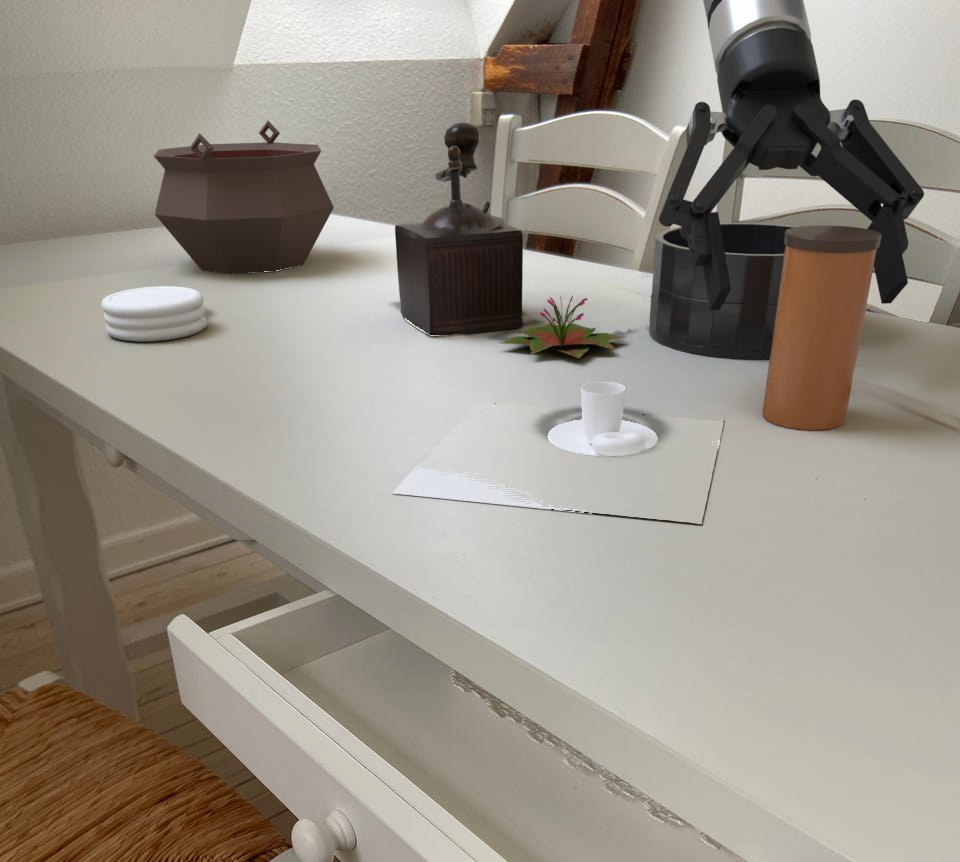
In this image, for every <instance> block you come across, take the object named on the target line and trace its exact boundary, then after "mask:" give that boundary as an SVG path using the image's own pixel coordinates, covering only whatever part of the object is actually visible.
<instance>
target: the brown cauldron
mask: <svg viewBox="0 0 960 862" xmlns="http://www.w3.org/2000/svg"><path fill="white" fill-rule="evenodd" d="M268 130H270V131H271V132H272V134H271V135H270V136H269V135H268V134H267V131H268ZM280 134H281V132H280V131H279V130H278V129H277V128H276V127H275V126H274V125H273V124H272V123H271V122H270V121H269V120H266V122H265V123H264V125H263V126H262V128H261V129H260V130H259V131H258V135H260V136H261V137H262V139H264V141H265V142H237V143H235V142H233V143H231V142H230V143H210V142H209V141H208V140H207V139H206V138H205V137H204V136H203V135H202V134H201V133H198V135H197V136H196V137H195V139H194V141H192V143H191V144H190V146H189V145H188V146H179V147H178V146H177V147H170V148H160V149H157V151H156V152H155V153H154V155H153V157H154V159H155V160H156V161H157V162H158V163H159V164H160V166H161V167H162V168H163V169H164V172H163V176H162V180H161V184H160V189H159V194H158V198H157V203H156V207H155V211H154V216H155V217H156V218H157V220H158V221H159V222H160V223H161V224H162V225H163V226H164V227H165V229H166V230H167V231H168V232H169V234H170V235H171V236H172V238H174V239H175V241H176V242H177V243H178V244H179V245H180V247H181V248H182V249H183V250H184V251H185V253H186V254H187V255H188V256H189V257H190V258H191V259H192V261H193V262H194V263H195V264H196V266H197V267H198V268H199V269H200V270H201V271H205V272H206V271H207V272H214V273H220V272H222V273H221V274H227V273H230V274H229V275H233V274H232V273H244V274H249V273H248V272H264V271H276V270H280V269H285V268H289V267H293V268H295V267H294V266H297V267H299V266H298V265H301V266H303V265H302V264H304V265H305V263H306V261H307V259H308V258H309V256H310V254H311V252H312V250H313V248H314V246H315V244H316V242H317V240H318V239H319V237H320V234H321V233H322V231H323V230H324V228H325V225H326V223H327V221H328V219H329V217H330V216H331V214H332V212H333V210H334V209H335V207H334V205H333V202H332V200H331V198H330V195H329V194H328V192H327V189H326V187H325V184H324V183H323V181H322V179H321V176H320V174H319V172H318V170H317V167H316V166H315V163H316V161H317V160H318V158H319V156H320V154H321V153H322V149H321V148H320V146H319V144H311V143H310V144H309V143H308V144H307V143H293V142H292V143H291V142H290V143H289V142H275V141H276V140H277V138H278V137H279V135H280ZM289 269H290V268H289ZM285 270H286V269H285ZM280 271H281V270H280ZM276 272H277V271H276ZM264 273H265V272H264Z"/></svg>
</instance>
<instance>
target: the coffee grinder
mask: <svg viewBox="0 0 960 862" xmlns="http://www.w3.org/2000/svg"><path fill="white" fill-rule="evenodd" d="M443 139H444V145H445V146H446V148H447V149H448V150H447V157H448V160H449V161H448V163H447V165H448V167H447V168H445V169H441V170H440V171H438V172H437V173H435V174H434V175H435V177H434V178H435V180H436V181H438V182H442V183H443V182H444V183H447V182H450V191H451V192H450V193H451V194H450V195H451V200H450V202H449V205H446V206H443V207H440V208H438V209H436V210H434V211H433V212H430V214H429V215H427V216H426V218H425V219H423V221H419V222H412V223H410V222H409V223H401V224H395V225H394V236H395V238H394V239H395V251H396V253H395V254H396V268H397V269H396V270H397V280H398V291H399V292H398V293H399V302H400V315H401V314H402V315H401V317H402V316H403V317H404V318H406V319H407V320H409V321H410V322H412V324H414V325H415V326H417V327H419V328H420V329H422V330H424V331H425V332H426V333H428V334H429V335H449V336H456V335H455V334H458V335H467V334H475V333H484V332H493V331H501V330H508V329H509V330H510V329H518V328H522V327H523V326H524V325H525V324H524V319H523V273H524V271H523V269H524V268H523V266H524V265H523V261H524V260H523V259H524V257H523V256H524V236H523V232H522V229H519V228H516V227H514V226H511V225H509V224H506V223H505V222H506V221H505V219H504V218H502V217H499V216H495V215H492V214H491V213H490V212H489V209H490V206H491V202H490V201H486V202H485V204H484V205H483V208H480V207H478V206H476V205H474V204H470V203H468V202H464V201H463V199H462V196H461V195H462V194H461V193H462V192H461V177H462V178H464V179H467V177H468V176H469V175H471V173H472V172H474V171H475V172H476V171H477V170H478V166H477V164H476V162H475V158H474V157H475V155H476V154H475V153H476V151H477V149H478V148H479V146H480V144H481V135H480V133H479V129H478V127H476V126H475V125H473V124H471V123H470V122H457V123H453V124H452V125H451V126H450V127H448V128H447V129H446V130H445V133H444V136H443ZM403 317H402V318H403ZM453 334H454V335H453Z"/></svg>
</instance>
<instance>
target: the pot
mask: <svg viewBox="0 0 960 862" xmlns="http://www.w3.org/2000/svg"><path fill="white" fill-rule="evenodd" d="M720 226H721V232H722V238H723V244H724V250H725V256H726V262H727V267H728V273H729V279H730V285H731V290H730V292H729V294H728V296H727V298H726V299H725V301H724V303H723V305H722V307H721V309H720V310H710V306H709V300H708V294H707V288H706V282H705V276H704V270H703V266H694V265H693V264H692V262H691V260H690V253H689V247H688V241H687V239H684V238H683V237H682V236H681V234H680V230H681V228H682V227H681V226H677V227H672V228H669V229H665V230H662V231H660V232H658V233H657V234H656V235H655V241H654V252H653V254H654V255H653V265H652V266H653V268H652V280H651V281H652V283H651V294H650V305H649V307H650V308H649V321H648V322H649V323H648V325H649V326H648V334H649V336H650V337H651V339H653V340H654V341H655V342H656V343H658V344H660V345H663V346H665V347H668V348H671V349H674V350H677V351H681V352H685V353H688V354H693V355H694V354H695V355H700V356H706V357H713V358H723V359H724V358H726V359H735V360H736V359H737V360H770V354H771V347H772V340H773V332H774V325H775V318H776V311H777V304H778V296H779V289H780V282H781V275H782V267H783V260H784V253H785V246H786V245H785V244H784V237H785V232H786V230H788V229H790V228H795V227H801V226H799V225H790V224H780V223H779V224H777V223H776V224H775V223H759V222H756V223H754V222H724V223H723V222H720Z"/></svg>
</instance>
